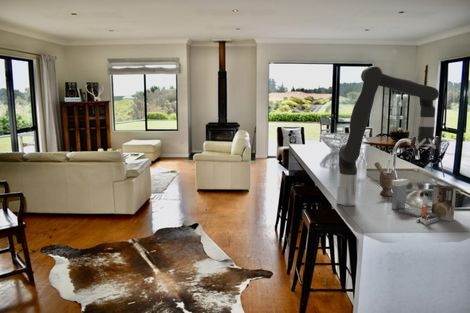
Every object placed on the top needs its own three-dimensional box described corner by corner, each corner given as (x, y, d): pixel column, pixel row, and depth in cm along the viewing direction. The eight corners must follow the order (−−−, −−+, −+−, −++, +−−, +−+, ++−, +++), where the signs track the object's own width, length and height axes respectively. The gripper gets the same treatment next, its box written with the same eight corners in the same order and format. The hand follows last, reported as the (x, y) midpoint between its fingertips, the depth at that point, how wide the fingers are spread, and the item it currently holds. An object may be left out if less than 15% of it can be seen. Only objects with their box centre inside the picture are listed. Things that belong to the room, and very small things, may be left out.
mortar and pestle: (378, 197, 224) (380, 164, 221) (370, 193, 233) (373, 161, 230) (396, 196, 226) (398, 163, 223) (388, 192, 235) (390, 161, 231)
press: (425, 224, 178) (428, 192, 175) (380, 210, 199) (382, 182, 196) (446, 218, 187) (449, 187, 185) (401, 205, 208) (403, 178, 205)
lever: (424, 223, 179) (425, 206, 178) (419, 221, 182) (420, 205, 180) (427, 222, 181) (428, 206, 179) (422, 221, 183) (423, 204, 181)
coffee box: (454, 218, 187) (457, 186, 184) (450, 221, 182) (454, 189, 180) (433, 214, 193) (436, 183, 190) (430, 217, 188) (433, 185, 186)
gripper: (416, 126, 198) (413, 156, 201) (443, 126, 198) (441, 156, 201) (409, 125, 205) (407, 154, 208) (436, 124, 205) (433, 154, 208)
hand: (424, 155), depth 204 cm, fingers open, 8 cm apart
